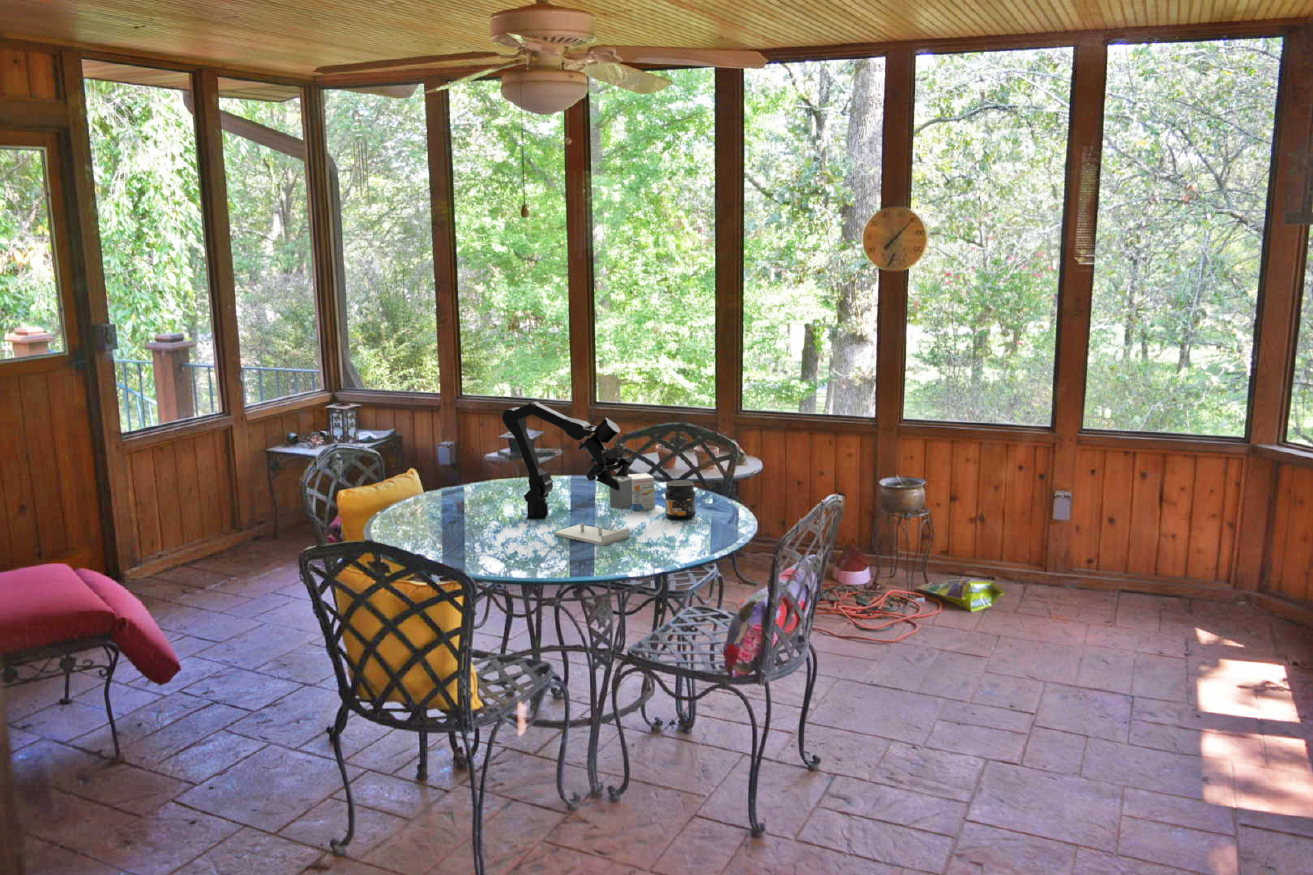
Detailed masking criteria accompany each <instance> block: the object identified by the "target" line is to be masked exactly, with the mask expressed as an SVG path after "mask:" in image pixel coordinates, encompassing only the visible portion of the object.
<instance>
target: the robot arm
mask: <svg viewBox="0 0 1313 875" xmlns="http://www.w3.org/2000/svg"><path fill="white" fill-rule="evenodd" d="M530 416H536V417H537V418H539V419H541V420H543V421H544V422H545V421H546V422H548V424H549V423H550V424H551V425H554V426H556V427H557V428H560V429H561V430H562V431H564V432H565V434H566V435H567V436H569V438H572V439H573V440H576V441H580V442H579V446H578V450H579V451H585V450H586V451H587V452H588V454H589V455H590V457H591V463H592V466H591V467H590V468H589V470H588V471H587V472H586V473H585V474H586V479H587V480H588V482H592V481H596V482H599V483H601V484H603V485H605V486H607V487H609V488H610V487H611V488H613V489H615V490H617V491H618V490H619V487H618V485H617V483H616V482H615V480H614V479H613V477H616V476H620V475H621V476H627V477H628V475H629V474H628V469H629V468H630V467H631V466H632V464H634V463H635V462H634V459H633V458H632V456H626V453H627V452H628V450H627V447H626V446H625V445H624V443H619V444H617V445H616V446H615V447H613V448H610V447H609V448H607V447H606V446H605V445H604V444H605V443H606V444H609V443H610V442H612V441H613V439H615V437H617V436H618V434H620V433H621V429H620V427H619V425H618V424H617V423H615V422H614V421H613V420H610V419H609V418H608V417H605V418H603V420H602V421H601V422H600V423H599V424H598V425H592V424H590V423H589V422H588V421H586V420H582V419H579V418H573V417H568V416H566V415H564V414H562V413H560V412H558V411H556V410H554V409H551V408H550V407H548V406H546V405H543V404H541V403H540V402H539V401H533V402H530V403H528V404H527V405H525V406H522V407H519V406H518V407H517V406H515V407H514V406H513V407H511V408H509V409H506V410H504V412H503V413H502V416H501V420H502V422H503V424H504V426H505V428H506V429H507V431H509V433H511V434H512V435H513V437H514V439H515V442H516V445H517V447H518V451H519V453H520V454H521V457H522V460H523V463H524V465H525V467H526V471H527V473H528V486H529V490H528V491H526V493H525V494H524V495H523V499H524V501H525V502H526V503H527V516H526V519H546V518H547V517H548V515H549V503H548V502H547V498H548V497H549V494H550V493H551V491H552V490H553V487H554V485H553V482H554V480H553V479H552V476H551V473H550V471H548V470H547V471H544V469H543V468H542V467H541V463H540V462H539V459H538V457H537V454H536V451H535V449H534V447H533V444H532V442H531V441H532V440H531V438H530V436H529V433H528V430H527V417H530ZM583 439H585V440H584V441H581V440H583ZM621 456H622V458H620V457H621ZM623 456H625V457H623ZM617 461H618V462H617ZM594 463H595V464H594ZM612 471H614V472H615V475H614V476H612Z"/></svg>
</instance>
